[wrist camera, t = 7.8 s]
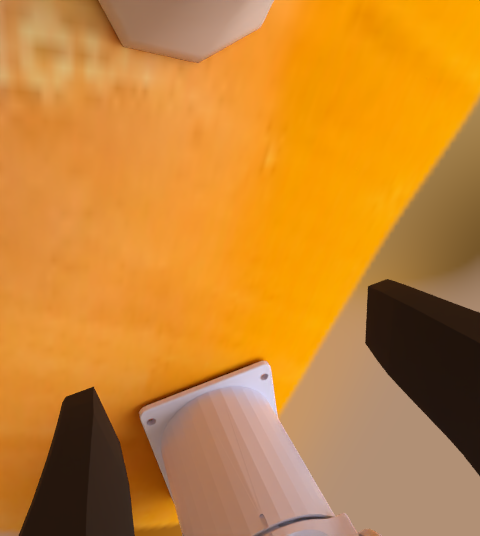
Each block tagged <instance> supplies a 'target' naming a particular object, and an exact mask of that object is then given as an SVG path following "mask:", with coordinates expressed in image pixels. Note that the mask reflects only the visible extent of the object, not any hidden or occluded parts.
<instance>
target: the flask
mask: <svg viewBox="0 0 480 536" xmlns="http://www.w3.org/2000/svg"><path fill="white" fill-rule="evenodd" d="M98 1H99V3H100V5H101V6H102V8H103V10H104V12H105V14H106V16H107V18H108V19H109V21H110V23H111V25H112V27H113V29H114V31H115V32H116V34H117V36H118V38H119V40H120V42H121V44H122V45H123V47H128V48H132V49H137V50H141V51H146V52H150V53H155V54H159V55H164V56H168V57H173V58H178V59H182V60H187V61H191V62H196V63H199V62H201V61H203V60H204V59H206V58H208V57H210V56H211V55H213V54H215V53H217V52H218V51H220V50H222V49H224V48H226V47H227V46H229V45H231V44H233V43H234V42H236V41H238V40H240V39H241V38H243V37H245V36H247V35H248V34H250V33H252V32H254V31H255V30H257V29H259V28H260V27H261V25H262V24H263V22H264V20H265V18H266V16H267V14H268V11H269V9H270V7H271V5H272V3H273V1H274V0H98Z"/></svg>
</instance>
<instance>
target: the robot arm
mask: <svg viewBox="0 0 480 536" xmlns="http://www.w3.org/2000/svg"><path fill="white" fill-rule="evenodd" d="M365 343H366V345H367V346H368V348H369V349H370V350H371V352H372V353H373V355H374V356H375V358H376V359H377V360H378V362H379V363H380V364H381V366H382V367H383V368H384V370H385V371H386V372H387V373H388V375H389V376H390V377H391V378H392V379H393V380H394V381H395V382H396V383H397V385H398V386H399V387H400V388H401V389H402V390H403V391H404V392H405V393H406V394H407V395H408V396H409V397H410V398H411V399H412V400H413V402H414V403H415V404H416V405H417V406H418V407H419V408H420V409H421V410H422V411H423V412H424V413H425V414H426V415H427V416H428V417H429V418H430V419H431V420H432V421H433V422H434V424H435V425H436V426H437V427H438V428H439V429H440V430H441V431H442V432H443V433H444V434H445V435H446V436H447V437H448V438H449V439H450V440H451V442H452V443H453V444H454V445H455V446H456V447H457V448H458V449H459V451H460V452H461V453H462V454H463V455H464V457H465V458H466V459H467V460H468V462H469V463H470V464H471V465H472V467H473V468H474V469H475V470H476V472H477V473H478V474H479V476H480V313H479V312H476V311H473V310H470V309H468V308H465V307H462V306H460V305H457V304H454V303H452V302H449V301H446V300H443V299H441V298H438V297H436V296H433V295H430V294H428V293H425V292H423V291H420V290H417V289H414V288H412V287H409V286H406V285H404V284H401V283H398V282H395V281H392V280H388V279H387V280H384V281H381V282H378V283H376V284H373V285H370V286H368V300H367V320H366V342H365ZM263 374H264V375H263ZM262 375H263V376H262ZM139 416H140V420H141V422H142V425H143V427H144V430H145V432H146V435H147V437H148V440H149V442H150V445H151V447H152V450H153V452H154V455H155V457H156V460H157V462H158V465H159V467H160V470H161V472H162V475H163V477H164V480H165V482H166V485H167V487H168V490H169V492H170V495H171V497H172V500H173V502H174V504H175V508H176V511H177V515H178V519H179V523H180V527H181V531H182V535H183V536H381V535H380V534H379V533H377V532H376V531H373V530H371V529H364V530H362V531H360V532H358V533H357V531H356V529H355V528H354V526H353V525H352V523H351V521H350V520H349V518H348V516H347V514H346V513H342V514H339V515H338V516H335V515H334V513H333V512H332V510H331V508H330V507H329V505H328V503H327V501H326V500H325V498H324V496H323V495H322V493H321V491H320V489H319V488H318V486H317V484H316V483H315V481H314V479H313V477H312V476H311V474H310V473H309V471H308V469H307V467H306V465H305V464H304V462H303V460H302V459H301V457H300V455H299V454H298V452H297V450H296V449H295V447H294V445H293V443H292V441H291V440H290V438H289V436H288V435H287V433H286V431H285V429H284V428H283V426H282V424H281V423H280V421H279V419H278V416H277V409H276V402H275V395H274V388H273V380H272V373H271V367H270V365H269V363H268V362H267V361H260V362H257V363H255V364H252V365H249V366H247V367H244V368H242V369H239V370H237V371H234V372H231V373H229V374H226V375H224V376H221V377H219V378H216V379H213V380H211V381H208V382H206V383H203V384H201V385H198V386H195V387H193V388H190V389H188V390H185V391H183V392H180V393H177V394H175V395H172V396H170V397H167V398H165V399H162V400H159V401H157V402H154V403H152V404H149V405H146V406H144V407H143V408H142V409H141V410H140V412H139ZM149 419H152V420H149ZM19 536H135V535H134V525H133V516H132V507H131V498H130V489H129V482H128V478H127V473H126V468H125V464H124V459H123V455H122V450H121V446H120V442H119V440H118V438H117V436H116V433H115V431H114V429H113V427H112V425H111V423H110V421H109V418H108V416H107V414H106V412H105V410H104V408H103V406H102V404H101V401H100V399H99V397H98V395H97V393H96V391H95V389H94V387H92V388H89V389H86V390H83V391H81V392H78V393H75V394H73V395H70V396H67V397H66V398H65V399H64V401H63V402H62V406H61V411H60V415H59V418H58V422H57V426H56V430H55V433H54V437H53V440H52V443H51V447H50V450H49V453H48V457H47V460H46V463H45V466H44V469H43V471H42V474H41V477H40V480H39V483H38V486H37V489H36V492H35V495H34V498H33V500H32V503H31V506H30V508H29V511H28V513H27V516H26V518H25V521H24V523H23V526H22V529H21V531H20V534H19Z"/></svg>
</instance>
